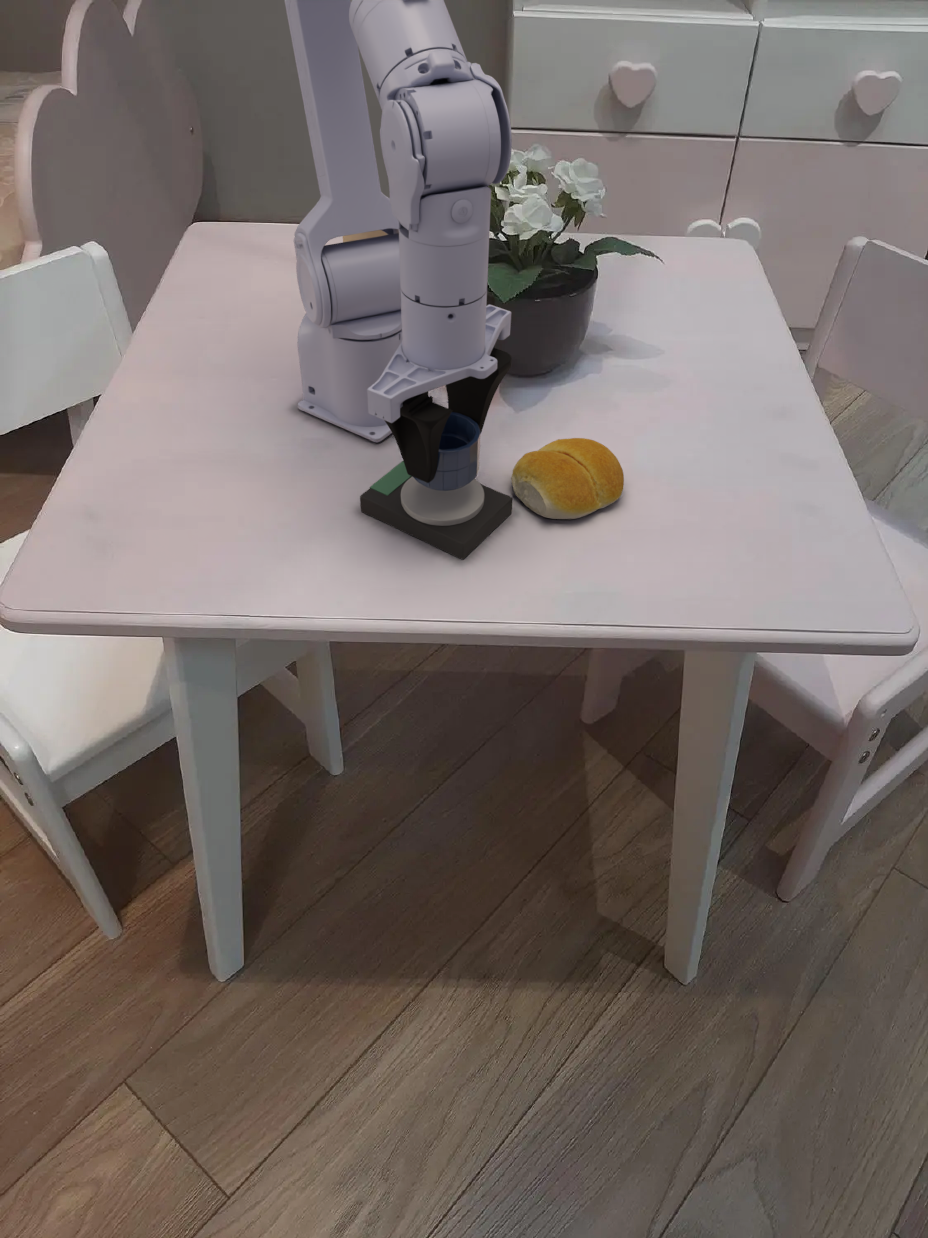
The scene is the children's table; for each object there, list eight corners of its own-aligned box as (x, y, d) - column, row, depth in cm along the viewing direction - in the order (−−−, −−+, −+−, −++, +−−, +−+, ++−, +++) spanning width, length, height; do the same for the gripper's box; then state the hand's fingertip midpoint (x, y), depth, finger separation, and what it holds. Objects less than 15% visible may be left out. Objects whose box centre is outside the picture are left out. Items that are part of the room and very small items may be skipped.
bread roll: (640, 495, 78) (647, 455, 75) (558, 536, 74) (563, 495, 71) (574, 447, 82) (579, 408, 79) (493, 483, 78) (496, 443, 75)
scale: (360, 511, 75) (359, 489, 74) (412, 469, 79) (412, 447, 78) (462, 560, 72) (463, 538, 70) (511, 513, 76) (513, 491, 74)
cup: (395, 477, 72) (394, 435, 69) (436, 444, 75) (436, 403, 72) (452, 502, 70) (453, 460, 67) (491, 468, 73) (493, 426, 70)
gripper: (428, 350, 56) (429, 526, 65) (552, 263, 64) (537, 431, 74) (336, 316, 58) (351, 490, 68) (467, 237, 67) (463, 402, 77)
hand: (442, 457), depth 71 cm, fingers closed on cup, 5 cm apart
